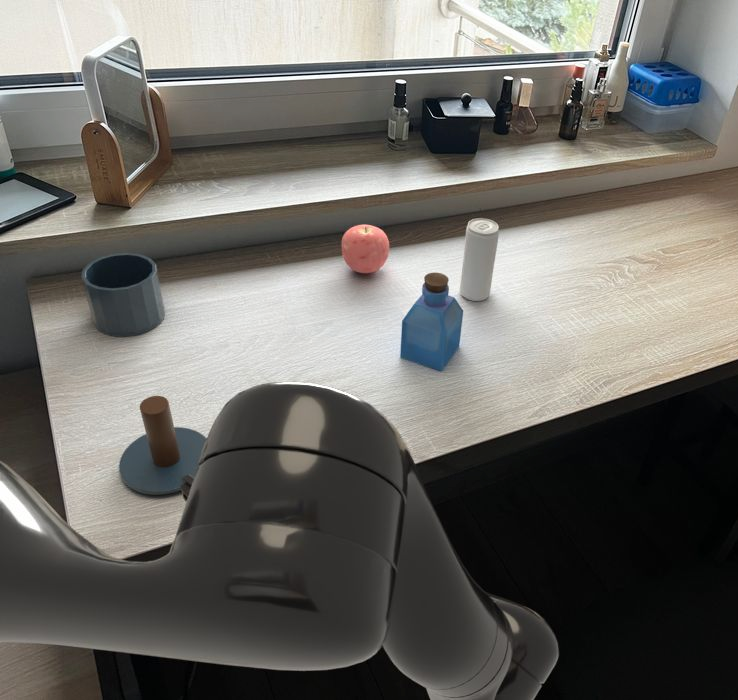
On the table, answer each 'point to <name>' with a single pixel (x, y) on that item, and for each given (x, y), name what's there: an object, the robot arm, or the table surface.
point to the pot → (124, 294)
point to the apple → (365, 248)
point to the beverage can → (479, 258)
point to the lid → (160, 451)
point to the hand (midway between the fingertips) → (223, 457)
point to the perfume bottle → (432, 325)
